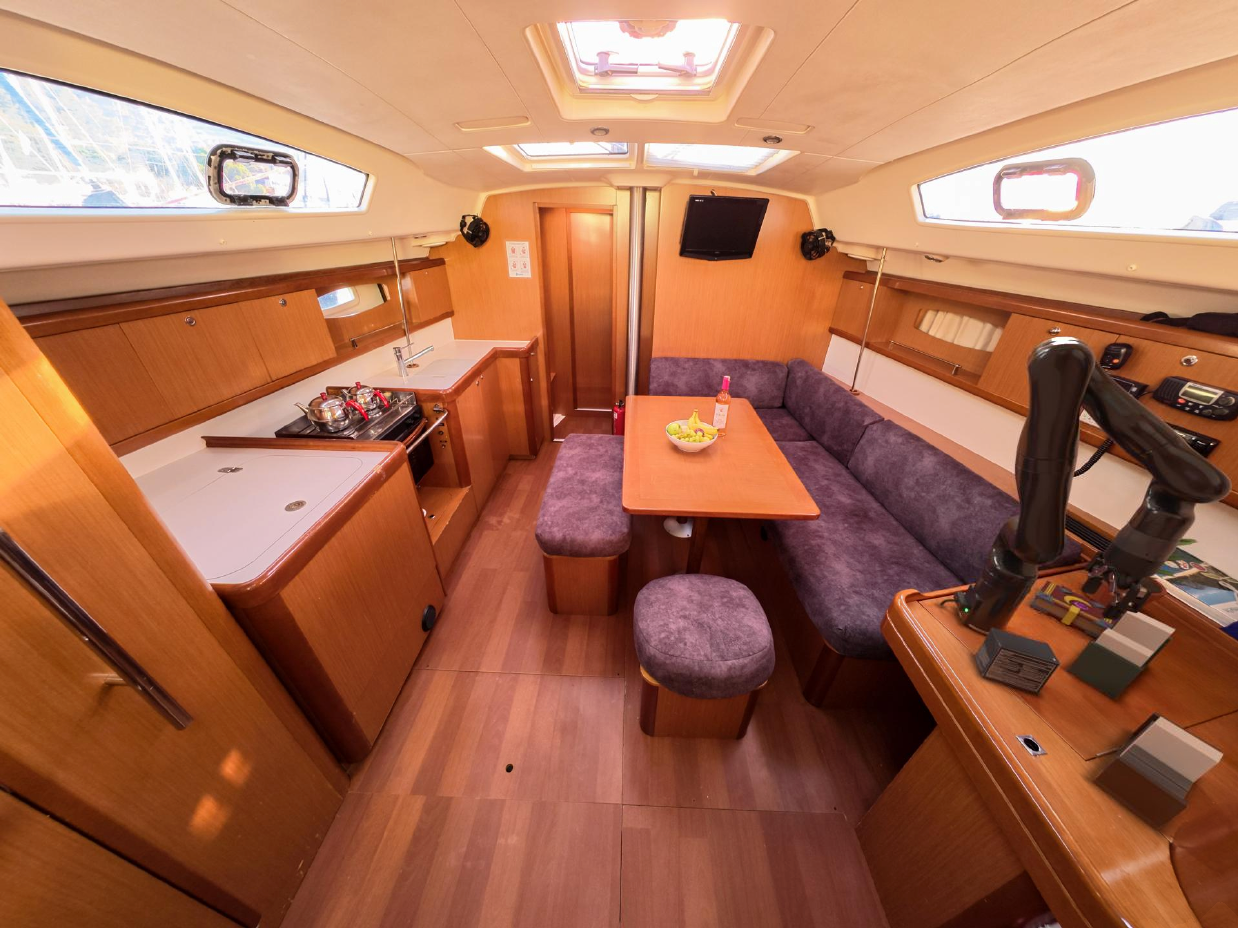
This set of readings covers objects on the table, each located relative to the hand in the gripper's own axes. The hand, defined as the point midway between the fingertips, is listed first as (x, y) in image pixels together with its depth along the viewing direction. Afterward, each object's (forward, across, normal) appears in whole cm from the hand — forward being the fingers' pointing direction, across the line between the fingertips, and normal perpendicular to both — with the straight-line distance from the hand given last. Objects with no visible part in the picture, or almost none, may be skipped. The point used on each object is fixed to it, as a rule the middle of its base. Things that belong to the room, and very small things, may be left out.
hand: (1097, 604), depth 91 cm
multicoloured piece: (+18, -2, +10) cm, 21 cm away
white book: (+17, +27, +2) cm, 32 cm away
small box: (+18, +12, -14) cm, 26 cm away
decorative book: (+18, -20, +11) cm, 29 cm away
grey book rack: (+18, +27, +2) cm, 33 cm away
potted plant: (+18, -34, +24) cm, 45 cm away
